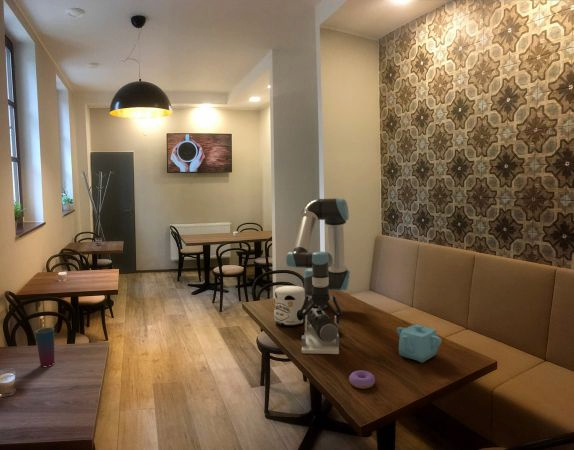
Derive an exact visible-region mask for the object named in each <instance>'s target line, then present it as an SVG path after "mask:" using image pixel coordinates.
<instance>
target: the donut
mask: <svg viewBox="0 0 574 450" xmlns="http://www.w3.org/2000/svg"><path fill="white" fill-rule="evenodd" d="M348 381H349V383H350V384H351V385H352V386H353V387H355V388H357V389H361V390H362V389H363V390H364V389H365V390H366V389H370V388H372V387H373V386H374V384H375V382H376V378H375V375H374V374H373V373H372V372H370V371H368V370H363V369H362V370H361V369H359V370H355V371H352V373H350V374H349V378H348Z"/></svg>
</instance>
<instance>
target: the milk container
mask: <svg viewBox="0 0 574 450" xmlns="http://www.w3.org/2000/svg"><path fill="white" fill-rule="evenodd" d="M274 291H275V292H274V301H275V302H274V303H275V306H274V310H273V320H274V322H276V324H278V325H281V326H287V327H295V326H299V325H303V324H304V323H303V316H301V315H299V312H300V310H301V308H302V306H303V304H304V302H305V290H304V287H302V286H297V285H285V286H284V285H283V286H278V287H276V288H275V290H274ZM305 311H306V307H305V308H304V310H303V313H304V312H305Z"/></svg>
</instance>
